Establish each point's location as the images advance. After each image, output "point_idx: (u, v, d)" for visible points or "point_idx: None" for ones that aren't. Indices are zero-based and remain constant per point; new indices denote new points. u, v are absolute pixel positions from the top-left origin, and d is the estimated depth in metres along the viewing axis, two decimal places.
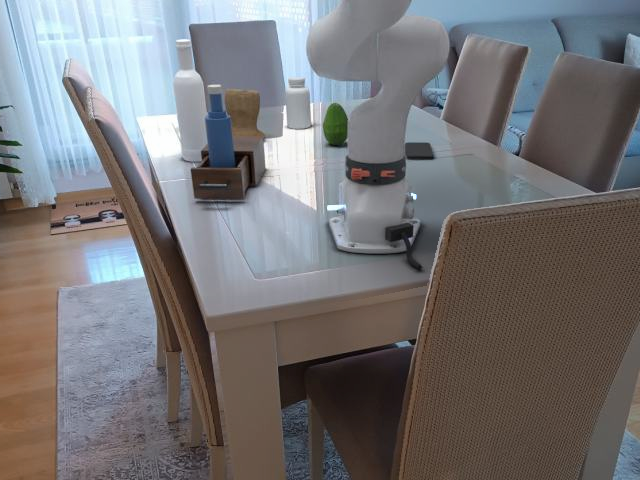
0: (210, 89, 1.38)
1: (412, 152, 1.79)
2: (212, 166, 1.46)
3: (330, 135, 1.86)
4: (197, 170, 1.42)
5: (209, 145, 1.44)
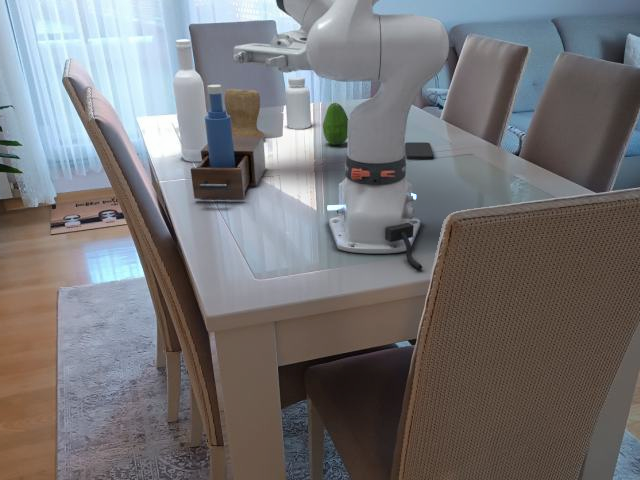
0: (210, 89, 1.38)
1: (412, 152, 1.79)
2: (212, 166, 1.46)
3: (330, 135, 1.86)
4: (197, 170, 1.42)
5: (209, 145, 1.44)
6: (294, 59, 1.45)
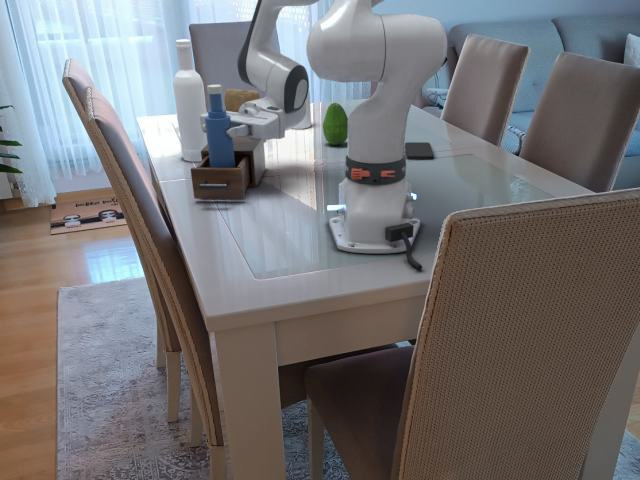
0: (210, 89, 1.38)
1: (412, 152, 1.79)
2: (212, 166, 1.46)
3: (330, 135, 1.86)
4: (197, 170, 1.42)
5: (209, 145, 1.44)
6: (259, 129, 1.42)
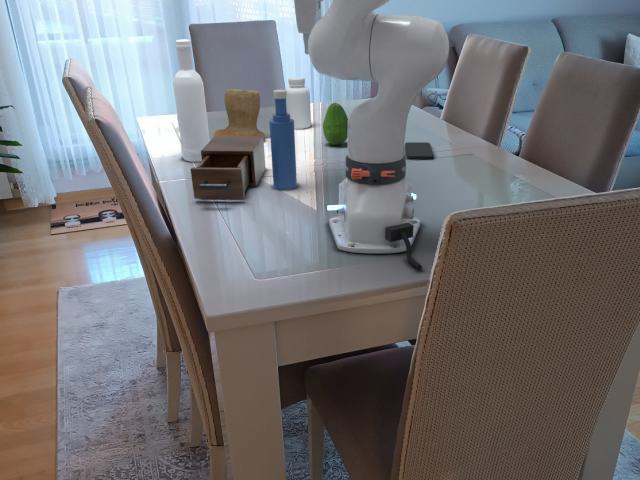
0: (276, 94, 1.44)
1: (412, 152, 1.79)
2: (275, 168, 1.52)
3: (330, 135, 1.86)
4: (197, 170, 1.42)
5: (273, 148, 1.50)
6: (304, 33, 1.40)
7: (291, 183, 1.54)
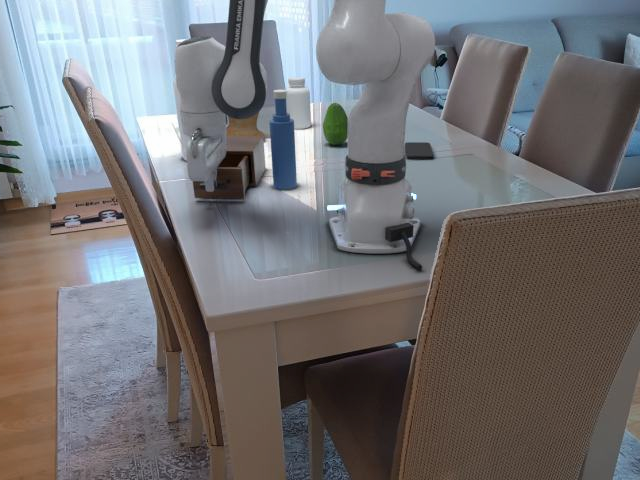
0: (276, 94, 1.44)
1: (412, 152, 1.79)
2: (275, 168, 1.52)
3: (330, 135, 1.86)
4: None
5: (273, 148, 1.50)
6: None
7: (291, 183, 1.54)
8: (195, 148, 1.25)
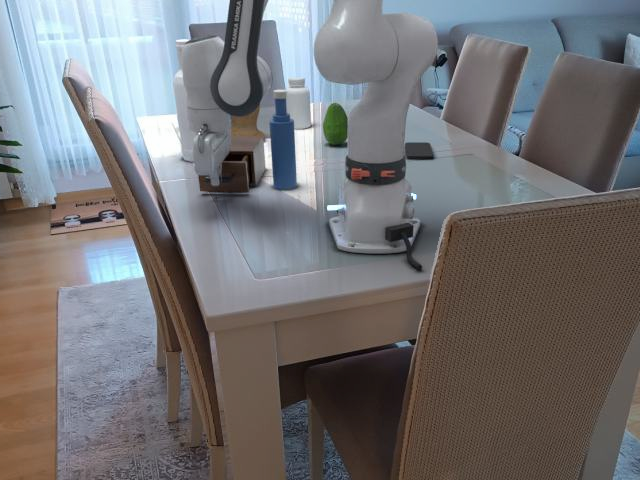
0: (276, 94, 1.44)
1: (412, 152, 1.79)
2: (275, 168, 1.52)
3: (330, 135, 1.86)
4: None
5: (273, 148, 1.50)
6: None
7: (291, 183, 1.54)
8: (202, 143, 1.29)
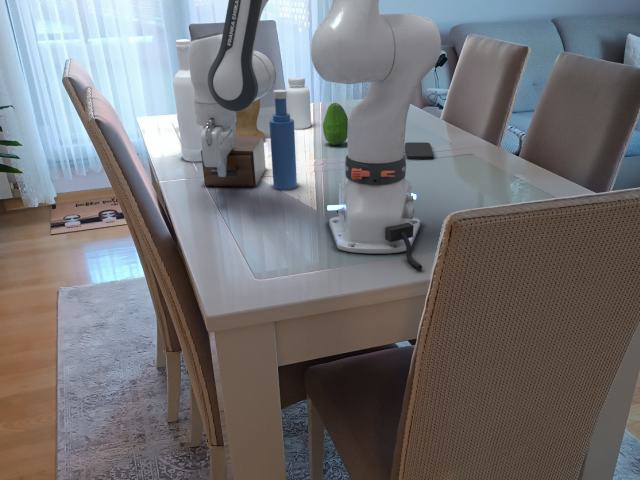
0: (276, 94, 1.44)
1: (412, 152, 1.79)
2: (275, 168, 1.52)
3: (330, 135, 1.86)
4: None
5: (273, 148, 1.50)
6: None
7: (291, 183, 1.54)
8: (209, 136, 1.35)
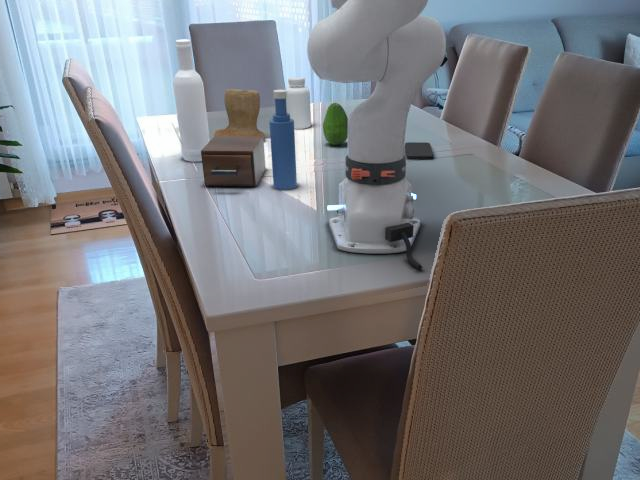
0: (276, 94, 1.44)
1: (412, 152, 1.79)
2: (275, 168, 1.52)
3: (330, 135, 1.86)
4: (208, 157, 1.52)
5: (273, 148, 1.50)
6: None
7: (291, 183, 1.54)
8: None
